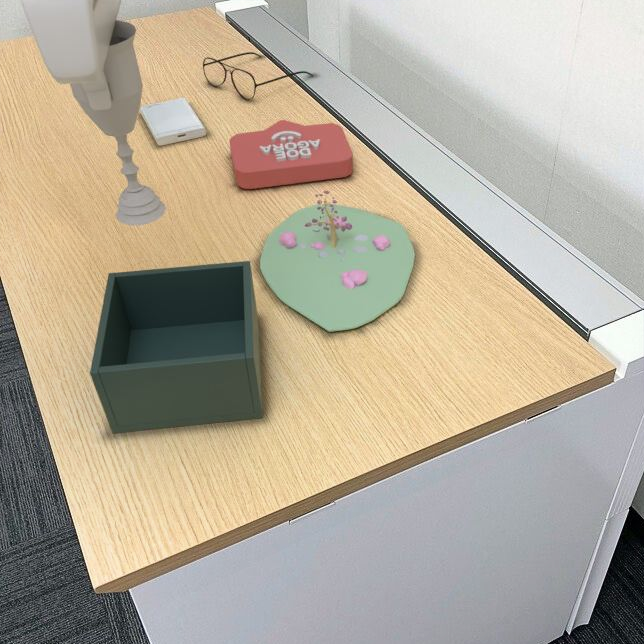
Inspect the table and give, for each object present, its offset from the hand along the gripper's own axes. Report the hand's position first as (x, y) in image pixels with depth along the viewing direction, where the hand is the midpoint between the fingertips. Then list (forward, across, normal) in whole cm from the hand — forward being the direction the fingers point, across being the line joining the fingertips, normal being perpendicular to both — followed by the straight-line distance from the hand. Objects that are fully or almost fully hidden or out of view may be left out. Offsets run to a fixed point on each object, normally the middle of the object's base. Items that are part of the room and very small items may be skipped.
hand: (107, 89), depth 67 cm
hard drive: (+30, -53, -2) cm, 61 cm away
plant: (+30, -9, +22) cm, 38 cm away
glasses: (+30, -68, +13) cm, 76 cm away
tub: (+30, +7, +2) cm, 31 cm away
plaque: (+30, -37, +17) cm, 51 cm away
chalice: (+13, 0, 0) cm, 13 cm away
